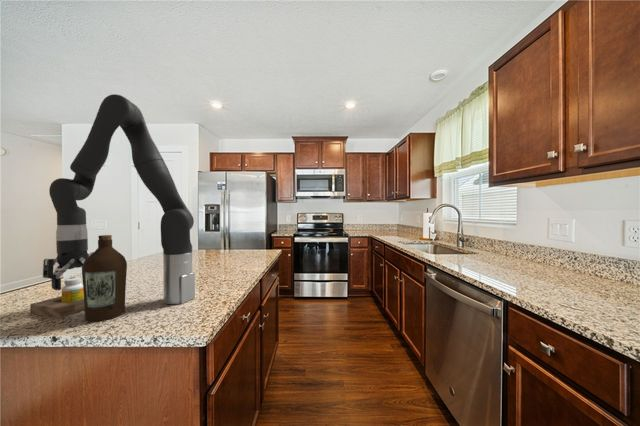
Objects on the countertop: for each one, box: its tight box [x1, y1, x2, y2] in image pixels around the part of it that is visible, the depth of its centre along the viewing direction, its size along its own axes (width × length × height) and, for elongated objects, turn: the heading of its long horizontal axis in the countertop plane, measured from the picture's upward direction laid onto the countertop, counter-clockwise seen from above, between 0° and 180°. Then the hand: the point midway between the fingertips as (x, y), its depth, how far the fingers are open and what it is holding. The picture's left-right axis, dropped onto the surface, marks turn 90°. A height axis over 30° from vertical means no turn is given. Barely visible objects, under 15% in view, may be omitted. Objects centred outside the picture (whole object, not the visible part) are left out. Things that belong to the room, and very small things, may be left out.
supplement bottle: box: [61, 277, 84, 303], centre depth 84 cm, size 5×5×10 cm
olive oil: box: [81, 234, 128, 323], centre depth 77 cm, size 11×11×25 cm
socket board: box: [29, 295, 85, 319], centre depth 84 cm, size 14×14×3 cm
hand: (73, 286), depth 84 cm, fingers open, 8 cm apart
